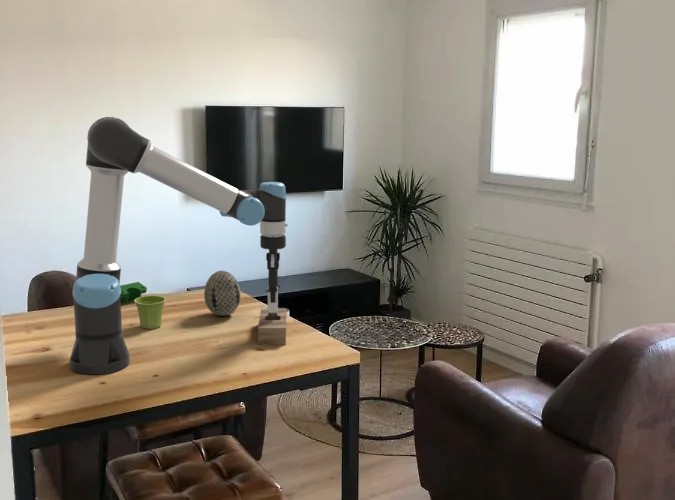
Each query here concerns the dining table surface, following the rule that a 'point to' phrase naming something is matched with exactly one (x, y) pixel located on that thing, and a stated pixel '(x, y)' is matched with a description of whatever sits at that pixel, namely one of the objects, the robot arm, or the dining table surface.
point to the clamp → (131, 291)
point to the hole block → (272, 328)
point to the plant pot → (150, 311)
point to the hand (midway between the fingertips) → (273, 310)
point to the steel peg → (272, 314)
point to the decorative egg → (222, 293)
